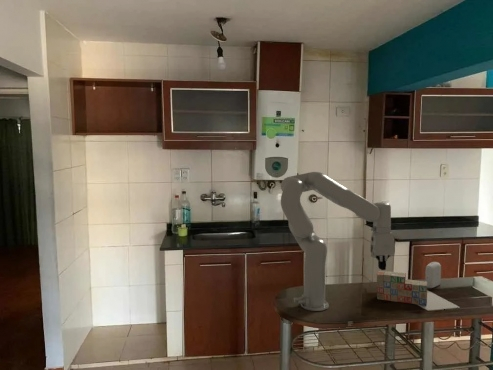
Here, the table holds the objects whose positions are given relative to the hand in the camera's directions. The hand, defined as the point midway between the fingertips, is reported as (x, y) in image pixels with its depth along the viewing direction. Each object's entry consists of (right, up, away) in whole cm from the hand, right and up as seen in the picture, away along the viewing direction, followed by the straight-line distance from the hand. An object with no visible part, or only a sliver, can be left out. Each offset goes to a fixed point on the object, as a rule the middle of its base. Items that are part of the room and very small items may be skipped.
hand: (382, 269), depth 172 cm
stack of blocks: (+10, -15, +3) cm, 19 cm away
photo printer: (+35, -14, +23) cm, 44 cm away
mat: (+22, -15, +6) cm, 27 cm away
